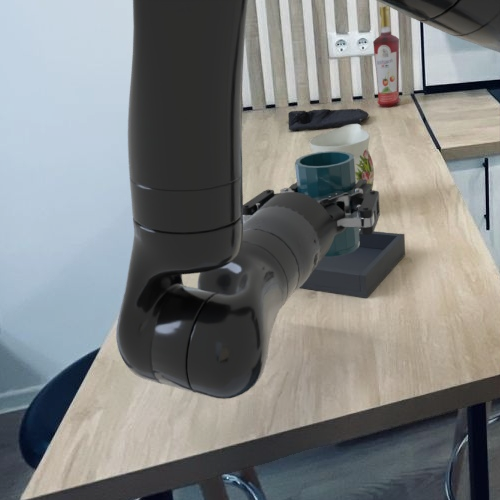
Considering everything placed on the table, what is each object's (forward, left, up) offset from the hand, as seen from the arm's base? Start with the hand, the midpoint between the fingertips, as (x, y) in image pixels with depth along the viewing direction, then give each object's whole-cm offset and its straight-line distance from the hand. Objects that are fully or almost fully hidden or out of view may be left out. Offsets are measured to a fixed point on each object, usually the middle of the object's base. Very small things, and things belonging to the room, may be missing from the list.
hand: (333, 187), depth 73 cm
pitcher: (+17, -37, -18) cm, 45 cm away
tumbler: (0, +2, -6) cm, 6 cm away
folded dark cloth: (+51, -102, -18) cm, 116 cm away
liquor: (+42, -125, -18) cm, 133 cm away
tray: (+9, -15, -18) cm, 25 cm away
